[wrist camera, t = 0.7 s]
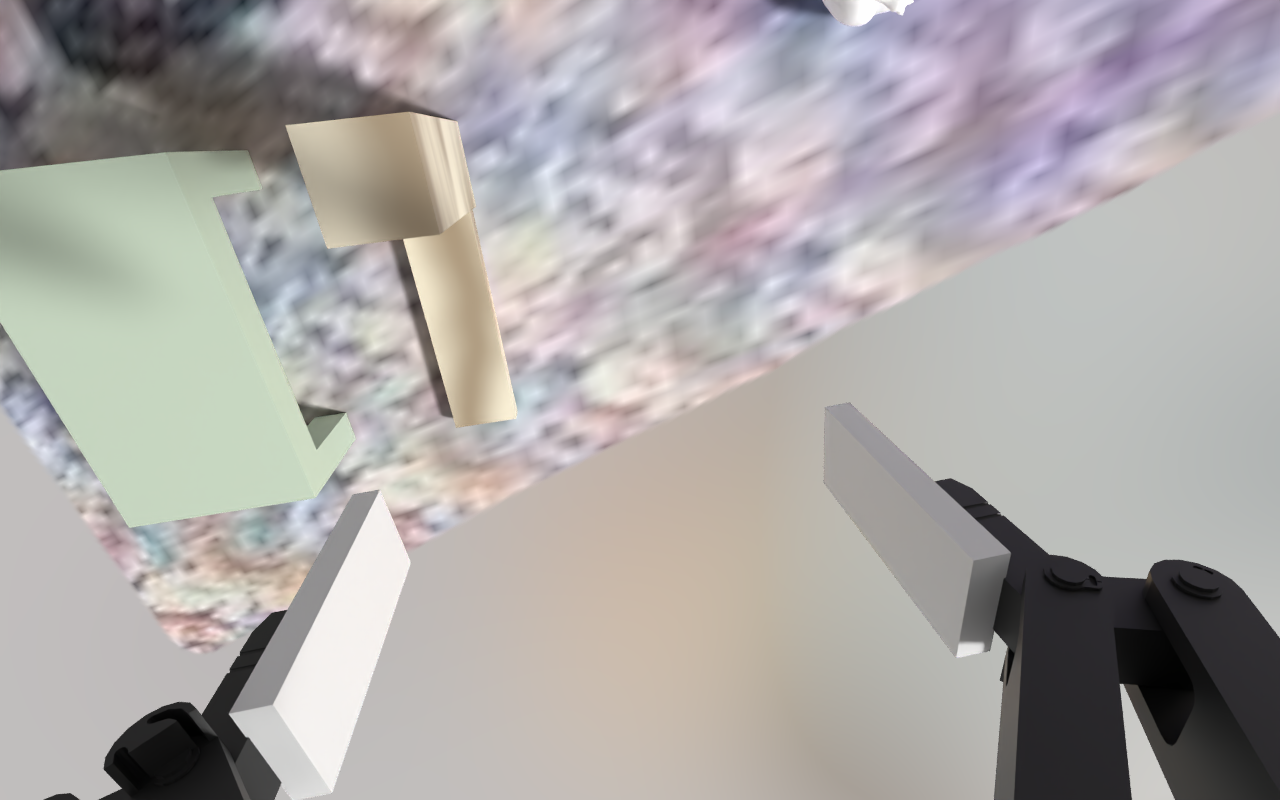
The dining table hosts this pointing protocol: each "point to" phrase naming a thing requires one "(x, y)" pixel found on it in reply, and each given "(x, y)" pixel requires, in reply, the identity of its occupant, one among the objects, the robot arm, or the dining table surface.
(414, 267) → the pusher
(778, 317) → the dining table surface
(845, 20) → the figurine
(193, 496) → the footstool
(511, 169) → the dining table surface
